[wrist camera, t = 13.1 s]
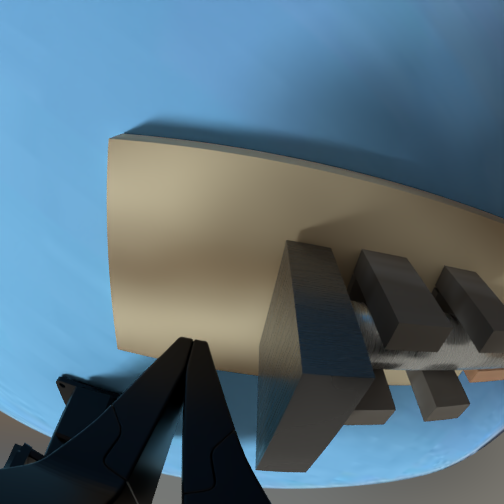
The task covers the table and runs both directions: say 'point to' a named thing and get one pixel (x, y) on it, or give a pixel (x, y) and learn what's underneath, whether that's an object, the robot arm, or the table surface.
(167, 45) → the table surface
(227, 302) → the beige piece
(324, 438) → the shaft
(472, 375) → the picture frame
